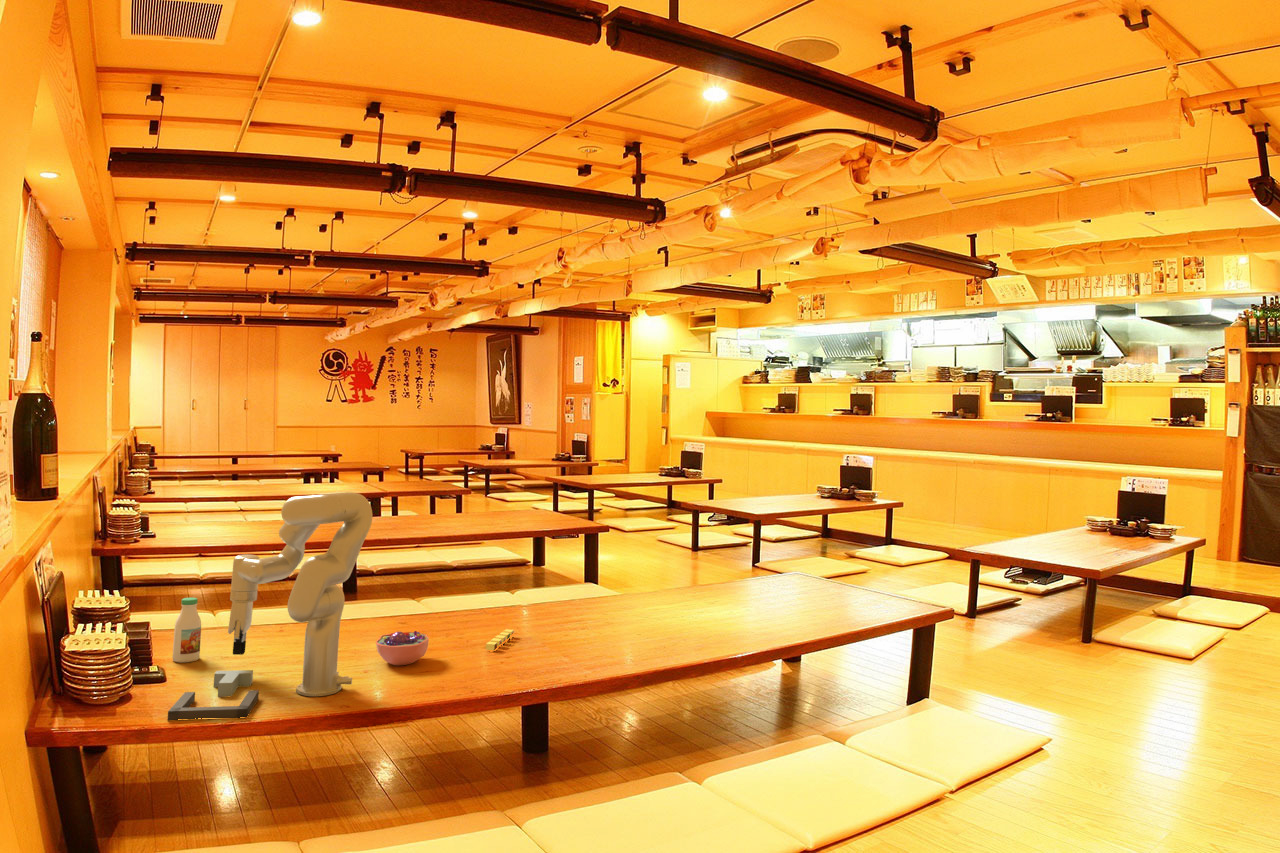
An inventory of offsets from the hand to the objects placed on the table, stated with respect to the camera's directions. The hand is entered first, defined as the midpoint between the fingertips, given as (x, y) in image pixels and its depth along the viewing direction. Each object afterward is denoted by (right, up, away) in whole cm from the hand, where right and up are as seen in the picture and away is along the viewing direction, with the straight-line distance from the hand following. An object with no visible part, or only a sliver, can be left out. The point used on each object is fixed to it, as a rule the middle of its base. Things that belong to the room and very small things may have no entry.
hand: (238, 653), depth 251 cm
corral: (+8, -7, -30) cm, 32 cm away
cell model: (+44, -10, +22) cm, 50 cm away
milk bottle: (-24, -6, +13) cm, 28 cm away
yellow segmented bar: (+74, -12, +53) cm, 92 cm away
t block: (+4, -7, -13) cm, 16 cm away
